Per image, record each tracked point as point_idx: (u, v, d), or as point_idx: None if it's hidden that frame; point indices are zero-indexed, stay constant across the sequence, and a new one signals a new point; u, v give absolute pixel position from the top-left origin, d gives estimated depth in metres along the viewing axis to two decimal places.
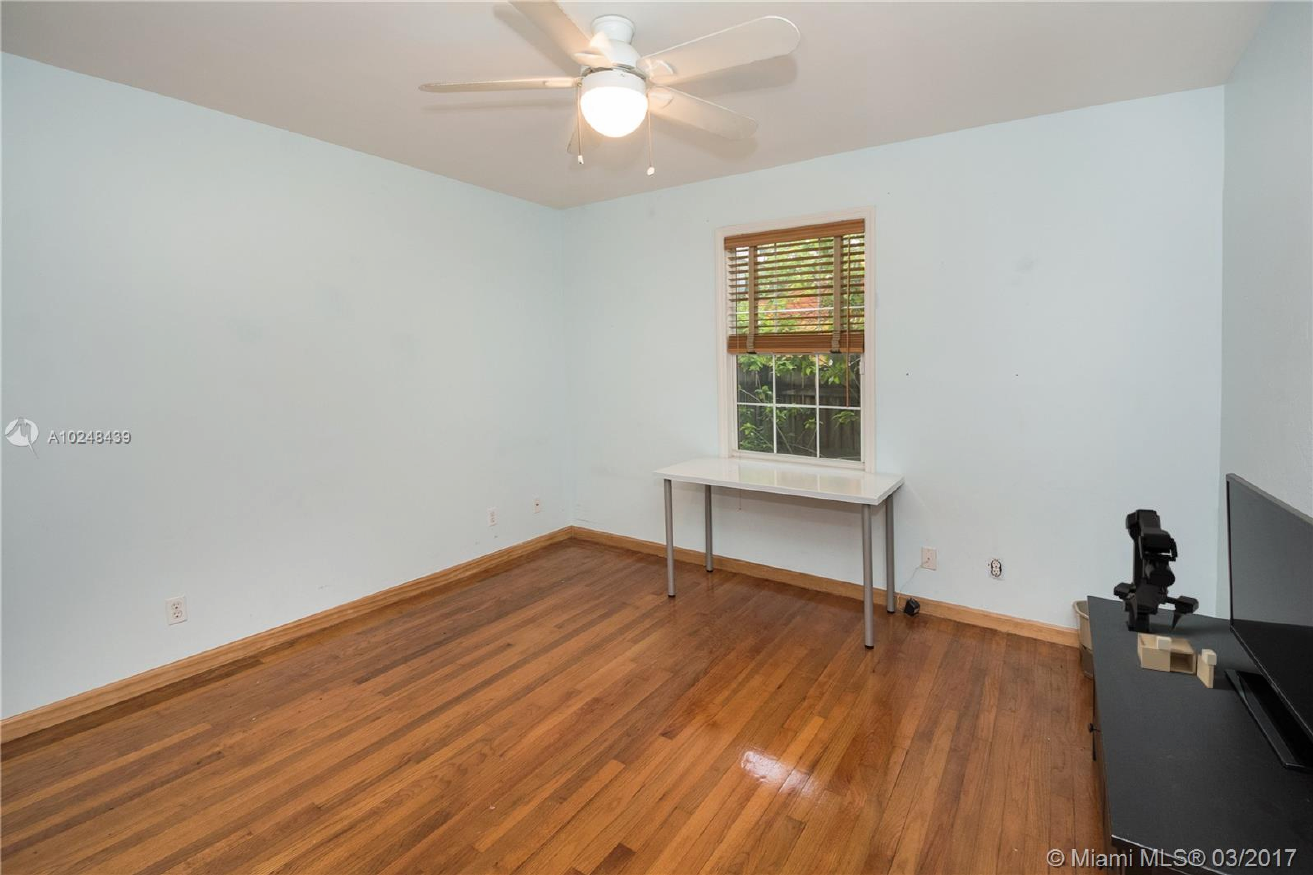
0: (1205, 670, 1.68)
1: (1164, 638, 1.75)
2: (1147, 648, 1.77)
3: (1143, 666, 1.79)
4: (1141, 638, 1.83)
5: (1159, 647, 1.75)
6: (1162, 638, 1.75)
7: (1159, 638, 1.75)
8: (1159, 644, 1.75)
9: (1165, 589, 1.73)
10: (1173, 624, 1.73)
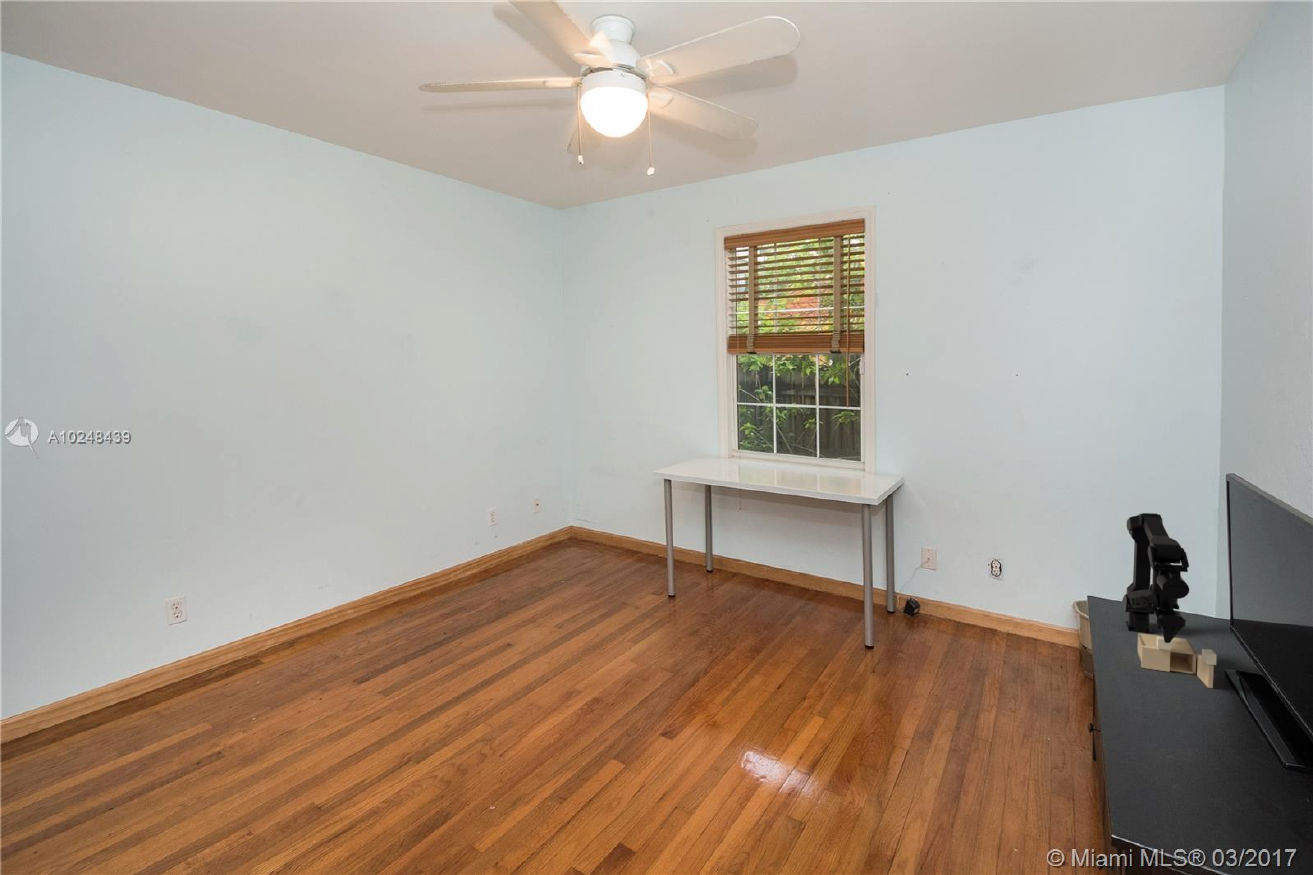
0: (1205, 670, 1.68)
1: None
2: (1147, 648, 1.77)
3: (1143, 666, 1.79)
4: (1141, 638, 1.83)
5: (1159, 647, 1.75)
6: (1162, 638, 1.75)
7: (1159, 638, 1.75)
8: (1159, 644, 1.75)
9: (1162, 600, 1.72)
10: (1164, 636, 1.72)
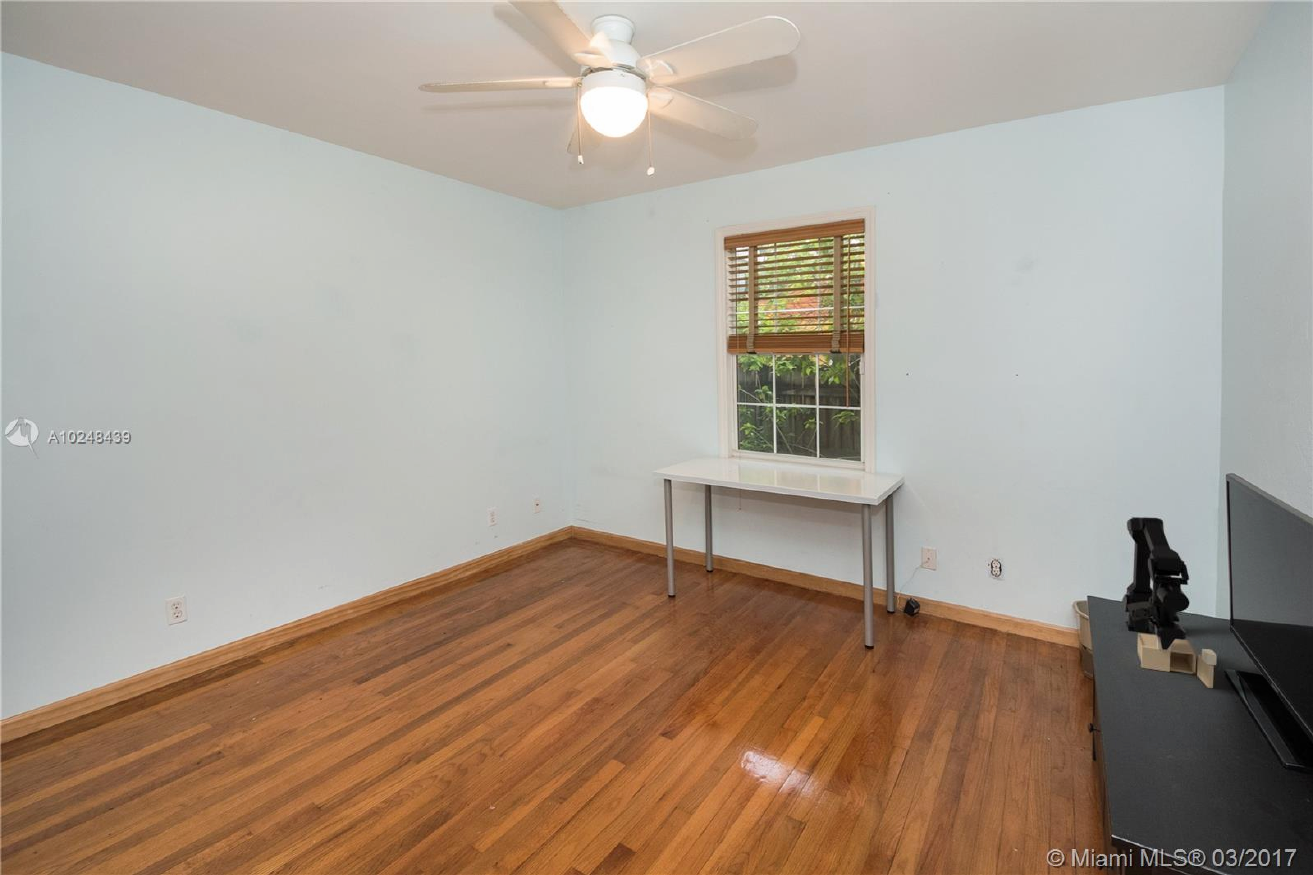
0: (1205, 670, 1.68)
1: None
2: (1147, 648, 1.77)
3: (1143, 666, 1.79)
4: (1141, 638, 1.83)
5: (1159, 647, 1.75)
6: None
7: (1159, 638, 1.75)
8: (1159, 644, 1.75)
9: (1163, 612, 1.72)
10: None
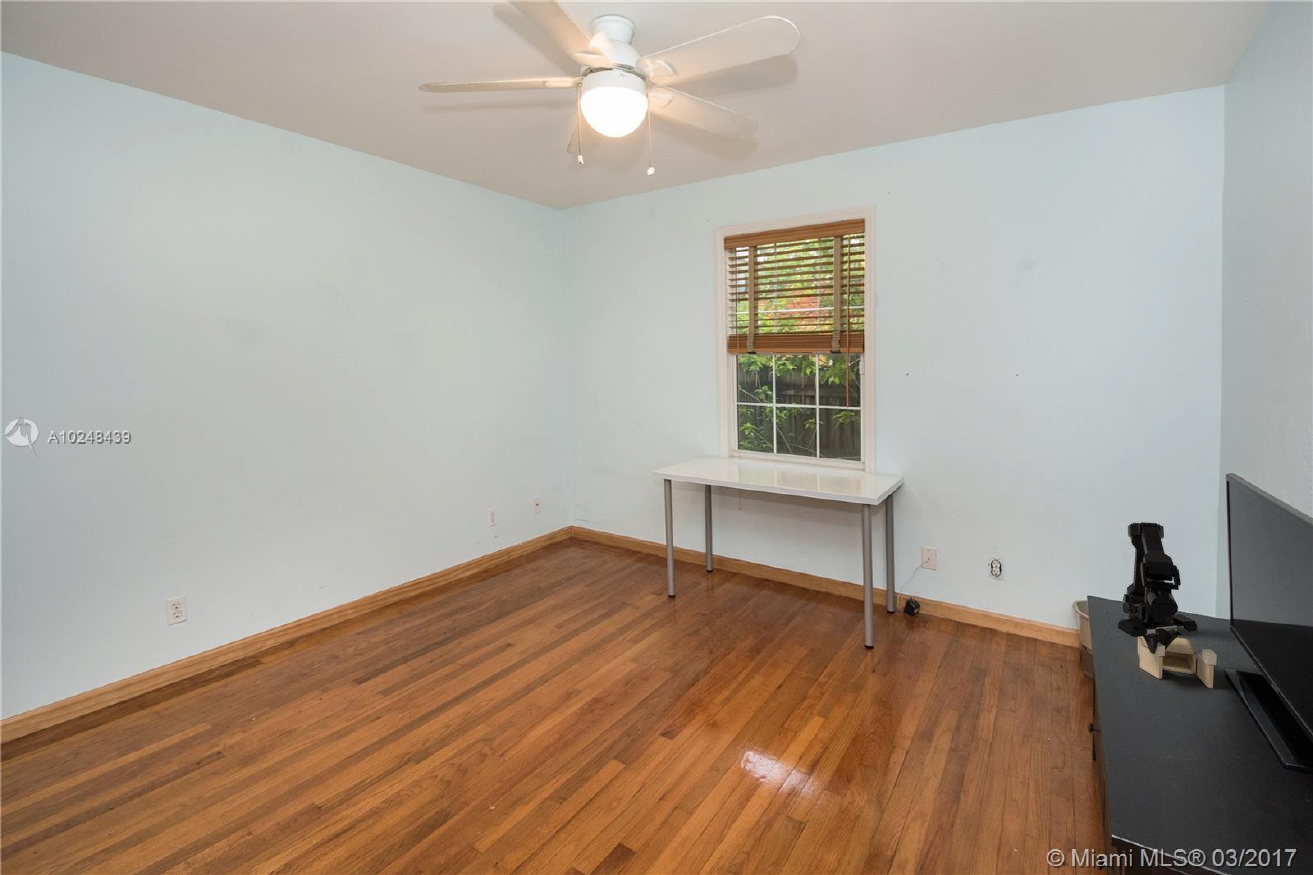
0: (1205, 670, 1.68)
1: None
2: (1143, 649, 1.77)
3: (1140, 666, 1.79)
4: (1141, 638, 1.83)
5: None
6: None
7: None
8: None
9: (1145, 613, 1.73)
10: None
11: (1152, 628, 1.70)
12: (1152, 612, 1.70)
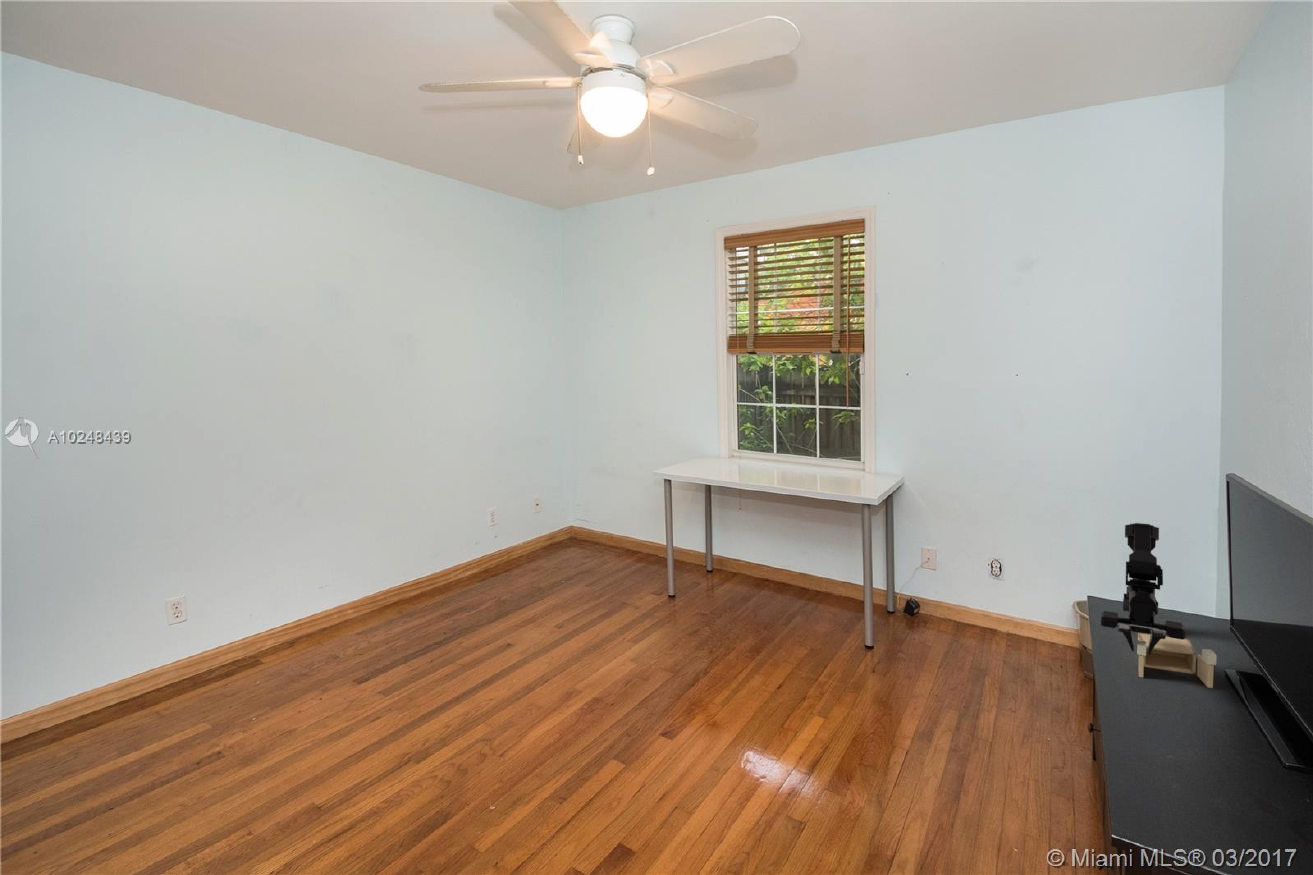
0: (1205, 670, 1.68)
1: (1140, 642, 1.74)
2: None
3: None
4: (1141, 638, 1.83)
5: None
6: (1140, 642, 1.74)
7: (1138, 640, 1.75)
8: None
9: None
10: None
11: (1125, 623, 1.74)
12: (1130, 609, 1.73)
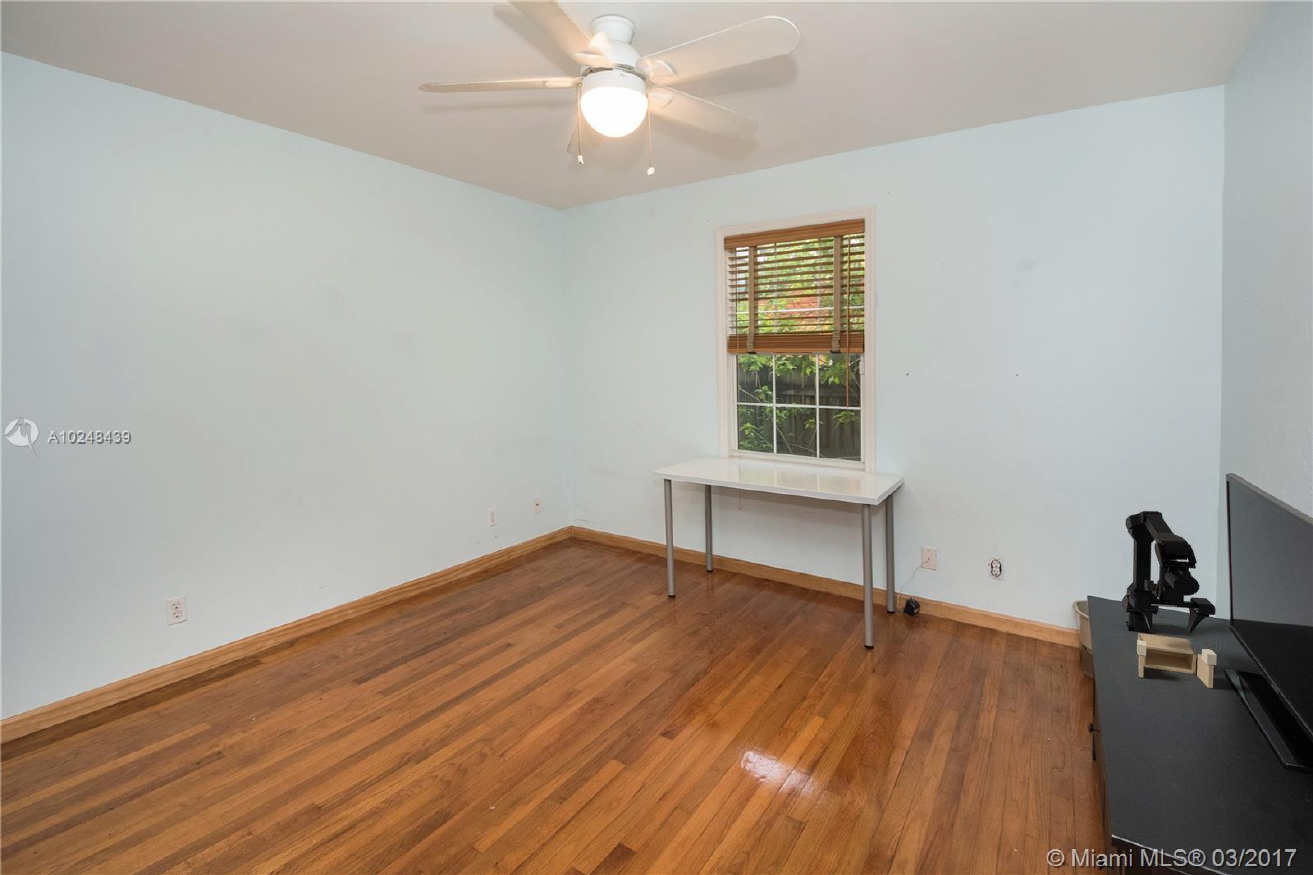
0: (1205, 670, 1.68)
1: (1140, 642, 1.74)
2: None
3: None
4: (1141, 638, 1.83)
5: None
6: (1140, 642, 1.74)
7: (1138, 640, 1.75)
8: None
9: (1158, 590, 1.77)
10: None
11: None
12: (1162, 589, 1.74)
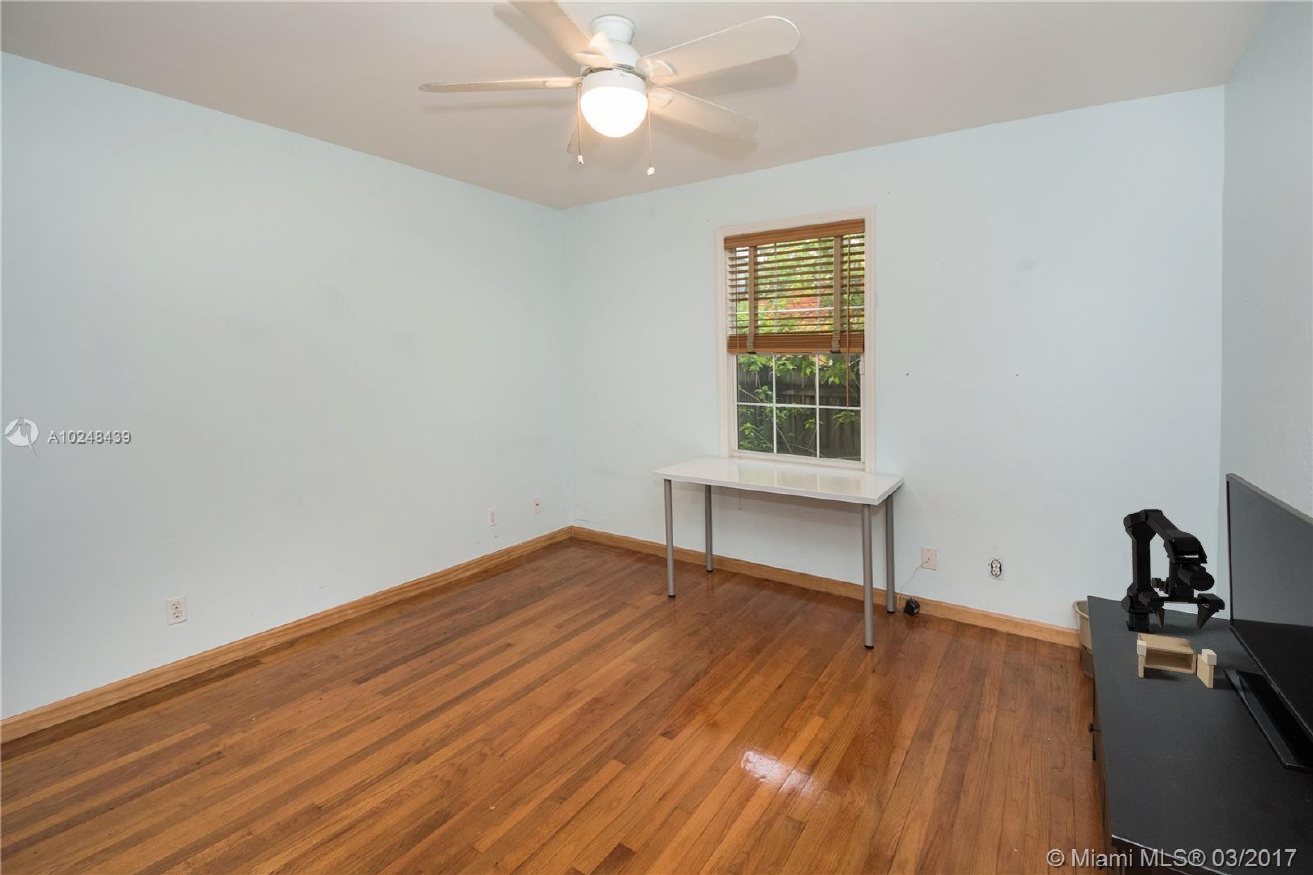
0: (1205, 670, 1.68)
1: (1140, 642, 1.74)
2: None
3: None
4: (1141, 638, 1.83)
5: None
6: (1140, 642, 1.74)
7: (1138, 640, 1.75)
8: None
9: (1168, 588, 1.77)
10: None
11: None
12: (1173, 586, 1.75)
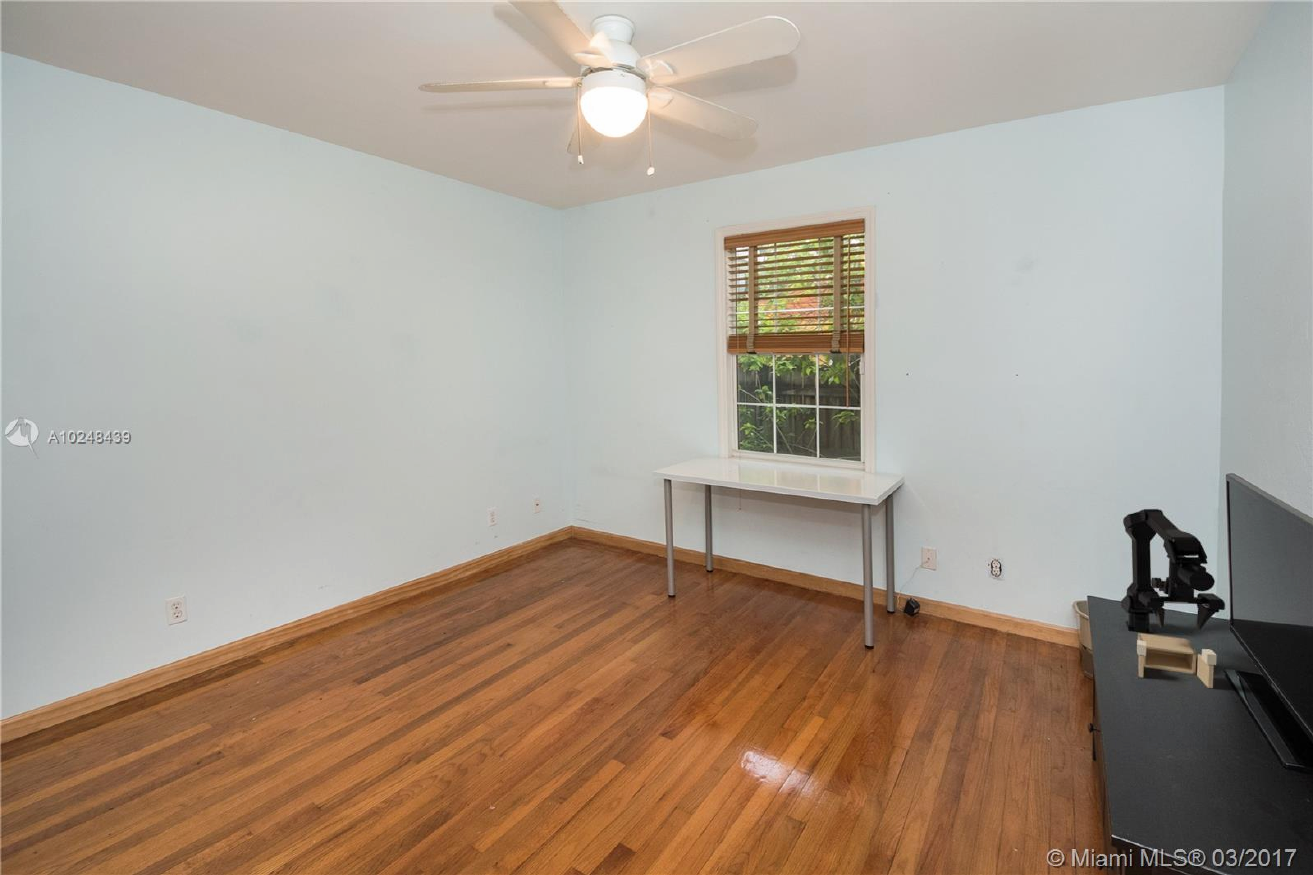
0: (1205, 670, 1.68)
1: (1140, 642, 1.74)
2: None
3: None
4: (1141, 638, 1.83)
5: None
6: (1140, 642, 1.74)
7: (1138, 640, 1.75)
8: None
9: (1168, 588, 1.77)
10: None
11: None
12: (1173, 586, 1.75)
